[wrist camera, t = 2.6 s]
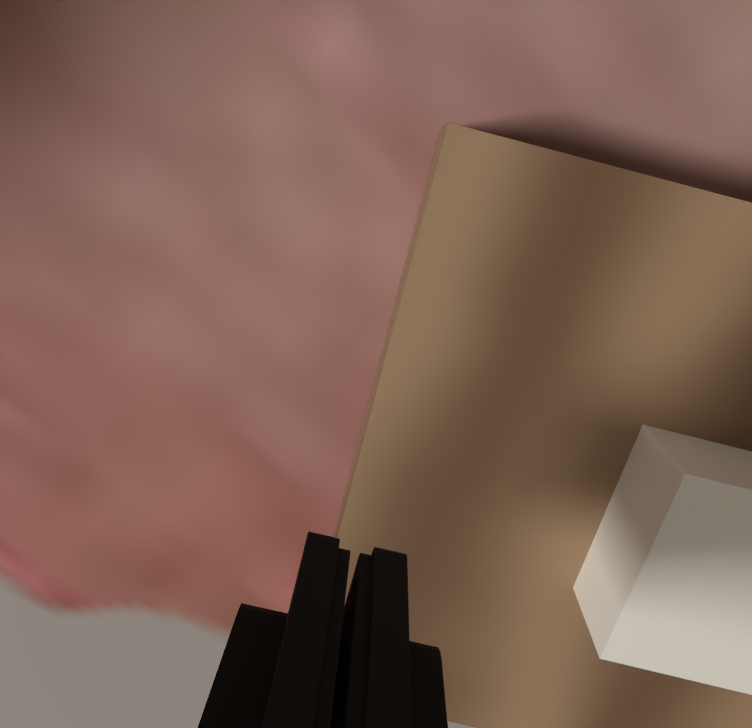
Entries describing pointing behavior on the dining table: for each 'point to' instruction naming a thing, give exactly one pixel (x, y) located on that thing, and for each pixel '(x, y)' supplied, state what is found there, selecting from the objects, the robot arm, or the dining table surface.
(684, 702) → the tan wooden board
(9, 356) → the dining table surface
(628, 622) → the cream tile
